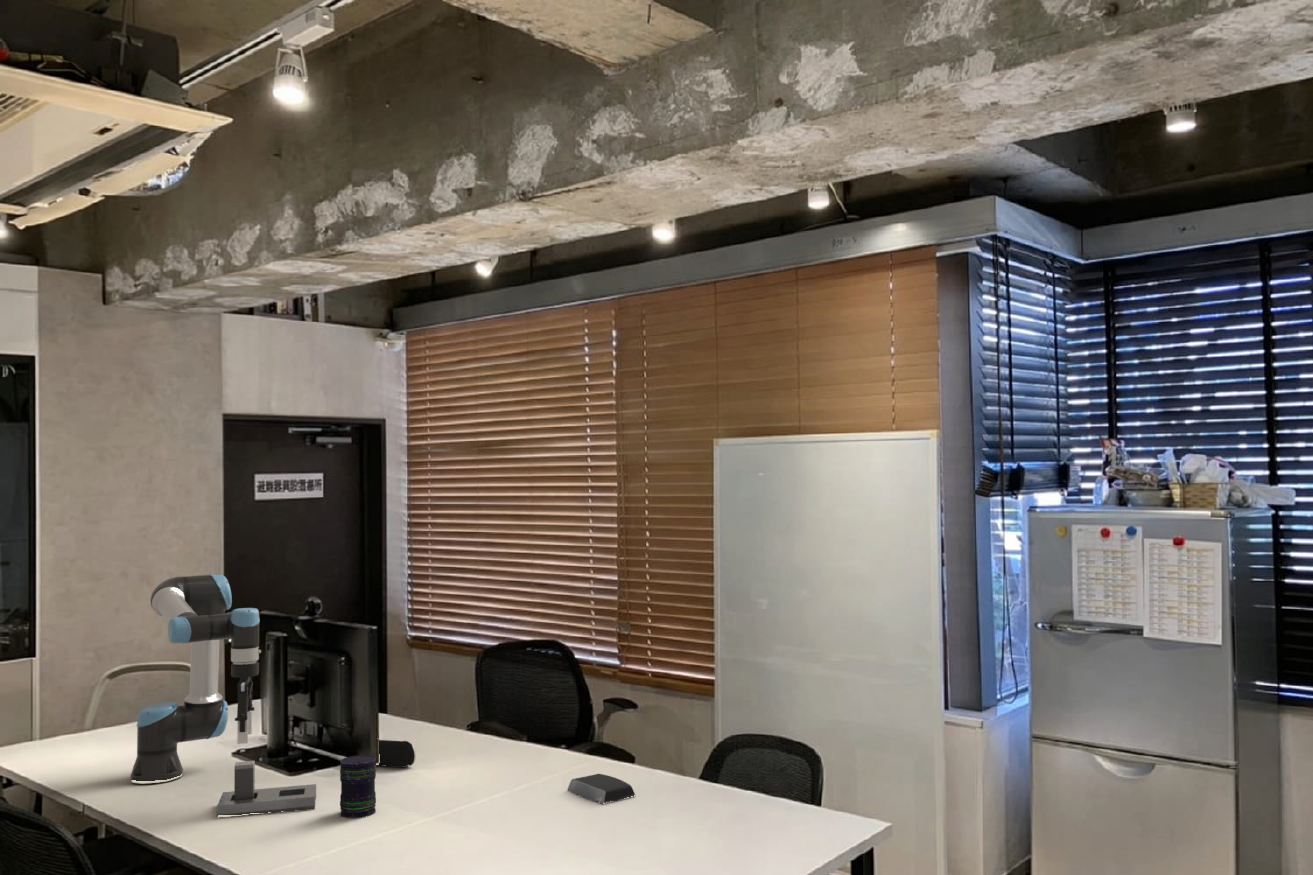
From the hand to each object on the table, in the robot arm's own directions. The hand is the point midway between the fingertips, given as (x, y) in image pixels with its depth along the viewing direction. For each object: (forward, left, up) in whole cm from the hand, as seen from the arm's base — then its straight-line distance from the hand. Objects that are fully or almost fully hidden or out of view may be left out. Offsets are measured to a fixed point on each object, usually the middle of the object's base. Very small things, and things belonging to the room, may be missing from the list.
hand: (244, 738), depth 302 cm
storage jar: (+15, +32, -20) cm, 40 cm away
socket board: (0, +7, -20) cm, 21 cm away
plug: (0, 0, -19) cm, 19 cm away
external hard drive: (+19, +101, -21) cm, 105 cm away
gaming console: (-35, +42, -20) cm, 58 cm away
